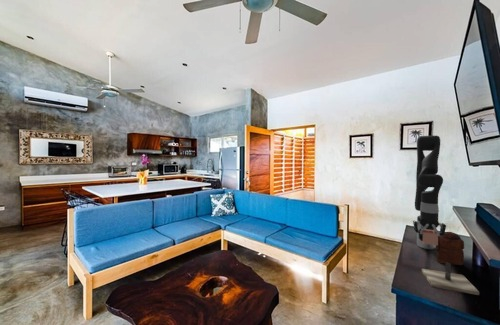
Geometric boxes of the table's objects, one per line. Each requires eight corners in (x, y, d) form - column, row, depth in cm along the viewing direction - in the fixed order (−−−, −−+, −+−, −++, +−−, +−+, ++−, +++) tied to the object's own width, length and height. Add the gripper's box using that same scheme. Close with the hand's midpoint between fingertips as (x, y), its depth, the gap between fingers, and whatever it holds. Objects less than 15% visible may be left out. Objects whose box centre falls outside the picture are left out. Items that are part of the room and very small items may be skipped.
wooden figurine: (456, 260, 124) (457, 230, 123) (465, 266, 118) (466, 234, 117) (433, 258, 127) (433, 229, 126) (440, 264, 121) (440, 233, 120)
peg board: (421, 271, 115) (422, 254, 114) (462, 277, 108) (463, 259, 107) (431, 286, 102) (432, 267, 101) (479, 295, 95) (479, 274, 95)
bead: (420, 239, 119) (420, 228, 119) (433, 240, 117) (433, 230, 117) (423, 243, 114) (423, 232, 114) (437, 245, 111) (438, 234, 111)
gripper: (443, 210, 115) (442, 240, 116) (411, 207, 121) (410, 236, 122) (449, 214, 108) (448, 246, 109) (414, 211, 114) (414, 241, 115)
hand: (428, 241), depth 115 cm, fingers closed on bead, 6 cm apart
